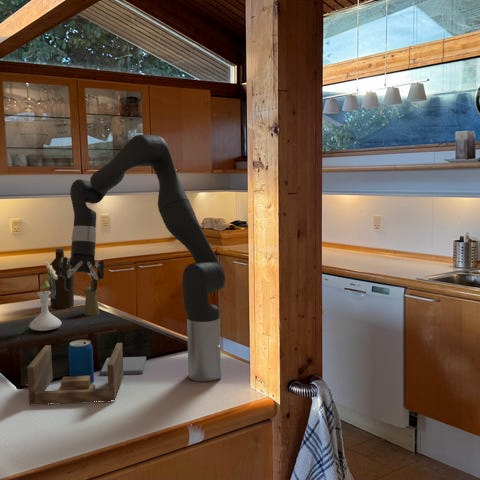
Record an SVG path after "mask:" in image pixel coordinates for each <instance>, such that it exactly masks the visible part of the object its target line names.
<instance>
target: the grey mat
mask: <svg viewBox="0 0 480 480" xmlns="http://www.w3.org/2000/svg"><path fill="white" fill-rule="evenodd" d="M109 360H110V357H107V358H106V360H105V362H103V363H104V364H103V366H102V368H101V370H100V376H105V375H107V376H108V370H107V364H108V362H109ZM146 362H147V356H125V357H124V356H123V375H132V374H133V375H134V374H135V375H136V374H137V375H138V374H143V373H144V371H145V370H144V369H145V365H146Z"/></svg>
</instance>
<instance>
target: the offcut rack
mask: <svg viewBox="0 0 480 480" xmlns="http://www.w3.org/2000/svg"><path fill="white" fill-rule="evenodd" d="M123 357H124V355H123V342H117V343H116V344H115V347H114V349H113V351H112V353H111V355H110V357H109V358H110V360H109V362H108V364H107V370H108V375H107V388H95V389H86V390H59V391H58V390H47V388H48V387H49V385H50V384H51V382H52V381H53V363H52V361H53V360H52V346H51V344H49V345H44V346H43V348H41V350H40V352H38V354H37V355H36V356H35V357H34V358H33V360H32V361H31V362H30V363H29V365H28V366H27V368H26V370H27V385H28V400H29V401H28V403H29V406H32V405H31V404H43V405H51V404H50V403H70V404H82V403H81V402H94V401H95V402H96V401H97V402H96V403H99V402H98V401H111V400H115V398H116V399H117V397H118V394H119V391H120V388H121V385H122V382H123V380H124V377H125V376H124V374H123ZM118 390H119V391H118ZM117 393H118V394H117ZM116 396H117V397H116ZM115 401H116V400H115ZM77 402H78V403H77ZM79 402H80V403H79ZM48 403H49V404H48Z"/></svg>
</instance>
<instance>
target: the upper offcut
mask: <svg viewBox="0 0 480 480" xmlns="http://www.w3.org/2000/svg"><path fill="white" fill-rule="evenodd" d="M90 385H91V383H90V376H70V375H69V376H63V377H62V378H61V380H60V386H61V390H86V389H89V387H90Z"/></svg>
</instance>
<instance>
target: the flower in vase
mask: <svg viewBox="0 0 480 480" xmlns="http://www.w3.org/2000/svg"><path fill="white" fill-rule="evenodd" d="M44 264H45V267H46V269H47V273H46V275H45V278H44V280H43V281H44V282H43V284H42V285H41V286H40V287H39V288H40V289H41V290H42V289H43V290H42V291H38V292H36V295H37V296H38V298H39V299H40V300H39V301H40V305H41V308H40V309H41V312H40V313H39V314H38V315H37V316H36V317H35V318H34V319H33V320H32V321H31V322H30V323H29V328H30V329H31V330H33V331H38V332H45V331H51V330H52V331H53V330H55V329H58V328H60V327H61V326H62V323H63V322H62V321H61V320H60V319H59V318H58V317H56V316H55V315H54V314H52V313H51V312H50V311H49V305H48V304H49V303H48V302H49V298H50V293H51V292H50V291H49V290H47V291H46V290H45V289H46V288H49V286H50V285H49V281H48V280H46V279H48V273H50V274H51V276H52V277H53V278H54V279H56V280H57V277H58V276H57V275H56V274H55V273H56V271H55V270H53V268H52V265H50V263H49V261H44Z"/></svg>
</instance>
